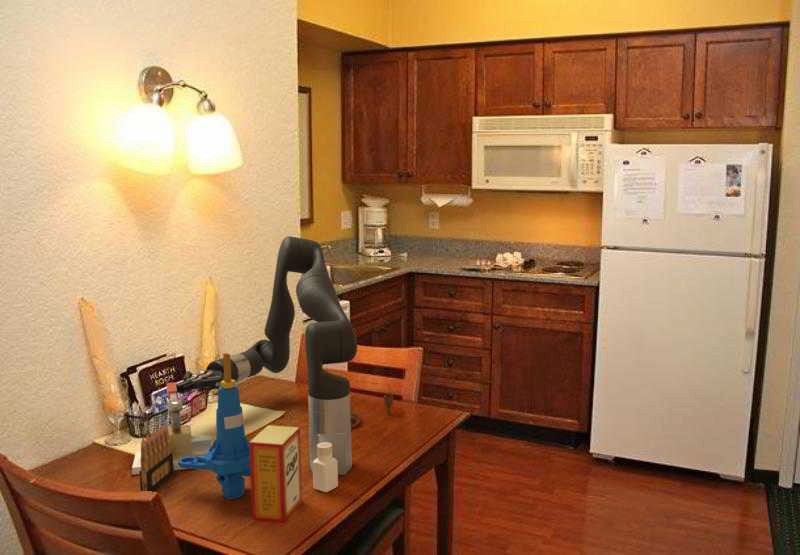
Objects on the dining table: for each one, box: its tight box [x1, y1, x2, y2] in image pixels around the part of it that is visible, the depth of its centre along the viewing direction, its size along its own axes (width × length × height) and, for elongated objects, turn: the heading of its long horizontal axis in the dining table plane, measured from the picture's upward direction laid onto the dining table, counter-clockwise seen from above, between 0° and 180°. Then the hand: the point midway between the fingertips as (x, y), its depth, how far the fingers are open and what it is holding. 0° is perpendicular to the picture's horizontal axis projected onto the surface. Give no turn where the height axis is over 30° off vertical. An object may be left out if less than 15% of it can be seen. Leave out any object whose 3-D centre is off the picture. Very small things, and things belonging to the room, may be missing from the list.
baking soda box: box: [248, 424, 303, 524], centre depth 144 cm, size 10×6×16 cm
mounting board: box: [131, 451, 204, 475], centre depth 168 cm, size 19×9×2 cm, turn 104°
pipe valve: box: [145, 410, 213, 461], centre depth 167 cm, size 15×6×11 cm, turn 104°
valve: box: [178, 352, 251, 500], centre depth 150 cm, size 11×17×30 cm, turn 76°
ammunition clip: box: [139, 422, 175, 492], centre depth 156 cm, size 11×2×12 cm, turn 168°
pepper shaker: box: [312, 442, 339, 493], centre depth 154 cm, size 4×4×10 cm
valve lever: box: [166, 381, 184, 412], centre depth 173 cm, size 3×17×2 cm, turn 20°
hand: (178, 389), depth 178 cm, fingers closed
